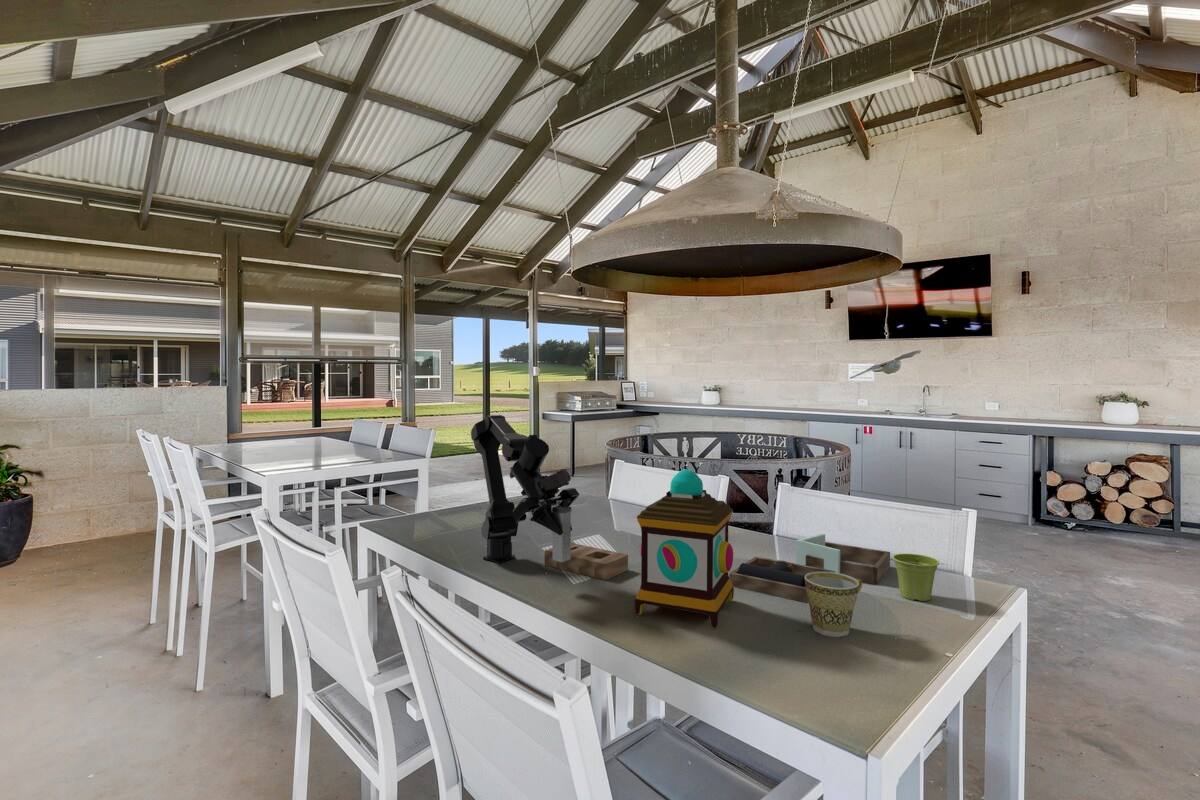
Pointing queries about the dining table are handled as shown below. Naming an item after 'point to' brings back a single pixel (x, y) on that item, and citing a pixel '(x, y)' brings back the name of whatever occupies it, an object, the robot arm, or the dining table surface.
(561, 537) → the block
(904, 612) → the dining table surface
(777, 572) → the pipe connector
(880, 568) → the brown shallow square box
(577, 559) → the bit block
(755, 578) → the wooden tray
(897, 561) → the plant pot
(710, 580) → the decorative lantern
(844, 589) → the ceramic cup
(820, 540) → the l-shaped corner panel
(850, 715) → the dining table surface
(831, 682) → the dining table surface
